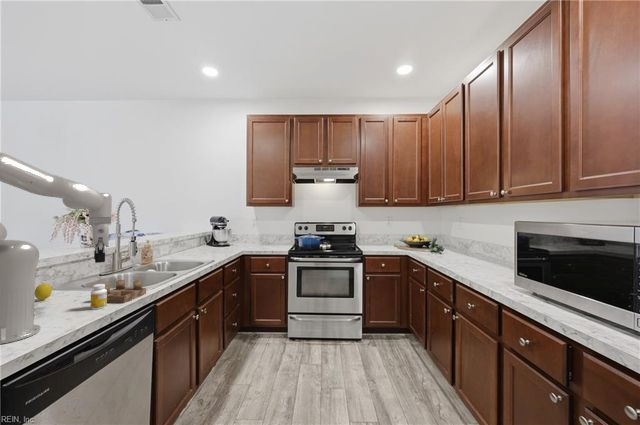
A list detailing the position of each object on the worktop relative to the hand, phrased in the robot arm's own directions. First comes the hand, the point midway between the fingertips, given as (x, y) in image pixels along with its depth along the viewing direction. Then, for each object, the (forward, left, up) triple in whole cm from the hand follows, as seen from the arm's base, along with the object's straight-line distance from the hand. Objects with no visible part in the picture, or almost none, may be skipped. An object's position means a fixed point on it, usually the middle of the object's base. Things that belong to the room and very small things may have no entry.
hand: (99, 260), depth 113 cm
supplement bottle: (0, 0, -20) cm, 21 cm away
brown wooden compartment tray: (+13, 0, -20) cm, 24 cm away
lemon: (+6, +32, -20) cm, 39 cm away
